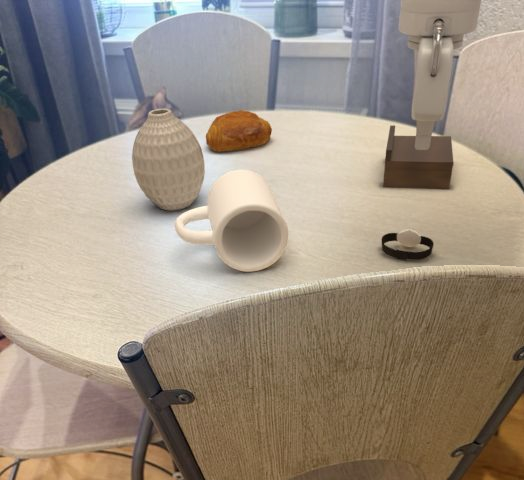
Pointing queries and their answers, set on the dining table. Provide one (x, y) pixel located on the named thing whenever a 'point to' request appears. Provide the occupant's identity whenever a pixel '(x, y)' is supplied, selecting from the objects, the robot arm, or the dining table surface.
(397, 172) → the brown wooden box
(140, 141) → the vase
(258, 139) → the croissant
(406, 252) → the watch
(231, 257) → the mug
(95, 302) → the dining table surface
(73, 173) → the dining table surface
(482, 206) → the dining table surface
